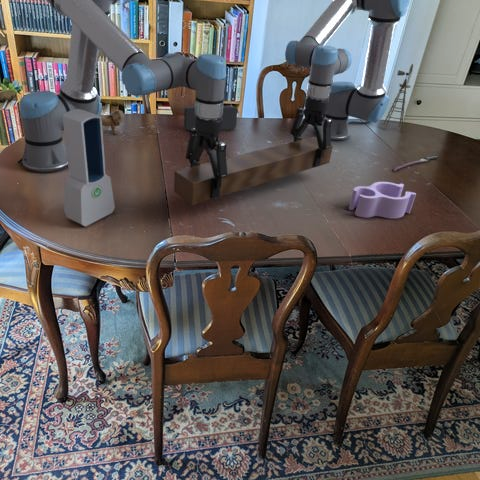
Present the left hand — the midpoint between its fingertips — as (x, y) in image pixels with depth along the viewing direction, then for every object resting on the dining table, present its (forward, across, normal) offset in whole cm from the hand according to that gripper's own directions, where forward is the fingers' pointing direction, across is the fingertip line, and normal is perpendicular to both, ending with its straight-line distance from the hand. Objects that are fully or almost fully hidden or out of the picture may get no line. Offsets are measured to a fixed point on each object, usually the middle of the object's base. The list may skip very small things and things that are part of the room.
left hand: (204, 190), depth 138 cm
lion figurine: (+7, +72, -6) cm, 73 cm away
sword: (+7, -15, -97) cm, 99 cm away
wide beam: (+1, 0, -22) cm, 22 cm away
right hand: (0, 0, -45) cm, 45 cm away
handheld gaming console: (+7, +56, -46) cm, 73 cm away
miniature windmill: (+7, +18, -129) cm, 130 cm away
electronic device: (+7, +15, +29) cm, 34 cm away
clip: (+7, -29, -50) cm, 58 cm away
